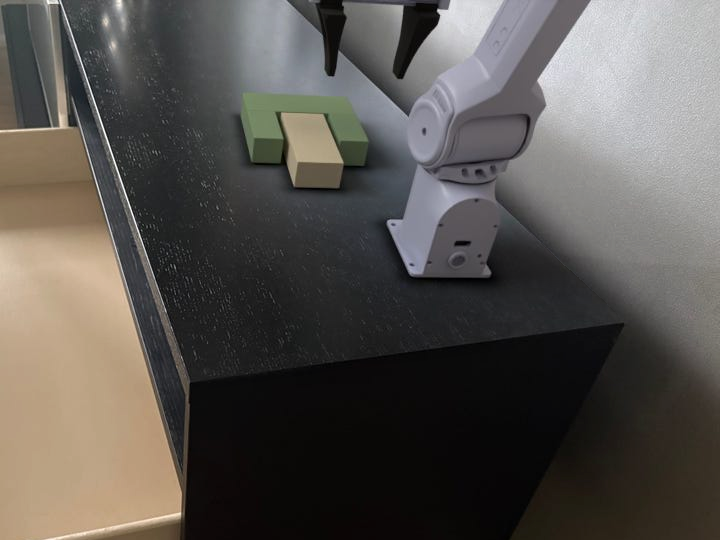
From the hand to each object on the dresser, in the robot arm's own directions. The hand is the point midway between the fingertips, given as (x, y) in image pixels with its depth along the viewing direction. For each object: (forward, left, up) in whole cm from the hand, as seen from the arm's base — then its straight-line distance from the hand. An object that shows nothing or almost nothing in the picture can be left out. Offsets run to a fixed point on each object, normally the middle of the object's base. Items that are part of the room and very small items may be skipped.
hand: (363, 74), depth 82 cm
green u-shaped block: (+3, +5, -9) cm, 11 cm away
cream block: (-2, +5, -9) cm, 11 cm away
